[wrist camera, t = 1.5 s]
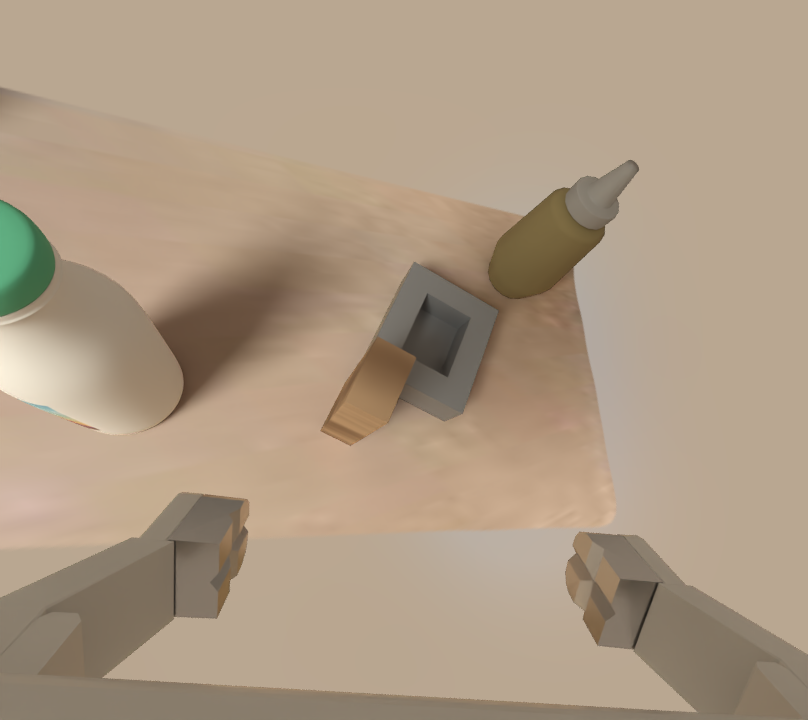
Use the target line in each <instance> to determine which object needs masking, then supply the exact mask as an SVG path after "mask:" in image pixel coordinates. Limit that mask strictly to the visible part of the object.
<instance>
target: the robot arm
mask: <svg viewBox="0 0 808 720" xmlns="http://www.w3.org/2000/svg"><path fill="white" fill-rule="evenodd" d="M248 516H249V501H248V499H241V498H233V497H225V496H216V495H208V494H205V495H204V494H198V493H188V492H182V493H179V494H178V495H177V496H176V497H175V498H174V499H173V500H172V501H171V502H170V504H169V505H168V506H167V507H166V508H165V509H164V510H163V512H162V513H161V514H160V515H159V516H158V517H157V518H156V520H155V521H154V522H153V523H152V524H151V525H150V526H149V528H148V529H147V530H146V531H145V532H144V533H143V534H142V536H141V537H140V538H130V539H128V540H126V541H123V542H121V543H119V544H117V545H115V546H112V547H110V548H108V549H106V550H104V551H102V552H100V553H97V554H95V555H93V556H91V557H88V558H86V559H84V560H82V561H80V562H78V563H75V564H73V565H71V566H69V567H67V568H64V569H62V570H60V571H58V572H56V573H54V574H51V575H49V576H47V577H45V578H43V579H41V580H38V581H37V582H34V583H32V584H30V585H28V586H25V587H23V588H21V589H19V590H16V591H14V592H12V593H10V594H8V595H6V596H3V597H1V598H0V720H808V655H807V654H806V653H804V652H803V651H801V650H799V649H797V648H796V647H794V646H792V645H791V644H789V643H787V642H786V641H784V640H782V639H781V638H779V637H777V636H776V635H774V634H772V633H771V632H769V631H767V630H766V629H764V628H762V627H760V626H759V625H757V624H755V623H754V622H752V621H750V620H748V619H747V618H745V617H743V616H742V615H740V614H739V613H737V612H735V611H734V610H732V609H730V608H728V607H727V606H725V605H723V604H722V603H720V602H718V601H717V600H715V599H713V598H712V597H710V596H708V595H707V594H705V593H703V592H702V591H700V590H698V589H696V588H695V587H693V586H687V585H685V584H684V582H683V581H682V580H681V579H680V578H679V577H678V576H677V575H676V574H675V573H674V572H673V571H672V570H671V568H670V567H669V566H668V565H667V564H666V563H665V562H664V561H663V560H662V559H661V558H660V557H659V555H658V554H657V553H656V552H655V551H654V550H653V549H652V548H651V547H650V546H649V545H648V544H647V543H646V541H645V540H644V539H642V538H640V537H638V536H635V535H620V534H618V535H612V534H601V533H589V532H579V533H578V534H577V535H576V537H575V539H574V542H573V547H574V549H575V552H576V554H575V555H574V556H573V557H571V558H570V559H569V560H568V563H567V567H566V571H565V575H566V585H567V589H568V592H569V595H570V596H571V598H572V600H573V602H574V603H575V604H576V605H577V606H579V607H580V608H581V609H583V610H584V615H583V620H584V622H585V624H586V626H587V628H588V629H589V631H590V633H591V635H592V637H593V638H594V640H595V642H596V644H597V645H598V646H605V647H615V648H624V649H634V652H635V653H636V654H637V655H638V656H639V657H640V658H641V659H642V660H643V661H644V662H645V663H646V664H647V665H649V667H651V668H652V669H653V670H654V671H655V672H656V673H657V674H658V675H659V676H660V677H661V678H662V679H663V680H664V681H665V682H667V684H669V685H670V686H671V687H672V688H673V689H674V690H675V691H676V692H677V693H678V694H679V695H680V696H681V697H682V698H683V699H684V700H685V701H686V702H688V703H689V704H690V705H691V706H692V707H693V708H694V709H695V710H696V711H697V712H698V713H696V712H679V711H660V710H643V709H625V708H610V707H593V706H577V705H576V706H575V705H560V704H543V703H527V702H507V701H492V700H474V699H457V698H438V697H421V696H403V695H386V694H368V693H367V694H366V693H351V692H334V691H316V690H299V689H281V688H264V687H247V686H229V685H228V686H227V685H211V684H193V683H177V682H160V681H159V682H158V681H140V680H124V679H107V678H102V677H104V676H105V675H106V674H107V673H109V672H110V671H111V670H112V669H113V668H115V667H116V666H117V665H118V664H120V663H121V662H122V661H123V660H124V659H126V658H127V657H128V656H129V655H131V654H132V653H133V652H134V651H135V650H137V649H138V648H139V647H140V646H142V645H143V644H144V643H145V642H146V641H148V640H149V639H150V638H151V637H153V636H154V635H155V634H156V633H157V632H159V631H160V630H161V629H162V628H164V627H165V626H166V625H167V624H169V623H170V622H171V621H172V620H173V619H174V617H191V618H217V617H218V615H219V613H220V611H221V609H222V607H223V605H224V603H225V600H226V598H227V596H228V594H229V592H230V580H231V579H233V578H234V577H235V576H237V574H238V572H239V570H240V568H241V565H242V562H243V559H244V556H245V552H246V547H247V540H248V531H247V529H246V528H245V527H244V524H245V522H246V520H247V518H248Z"/></svg>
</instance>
